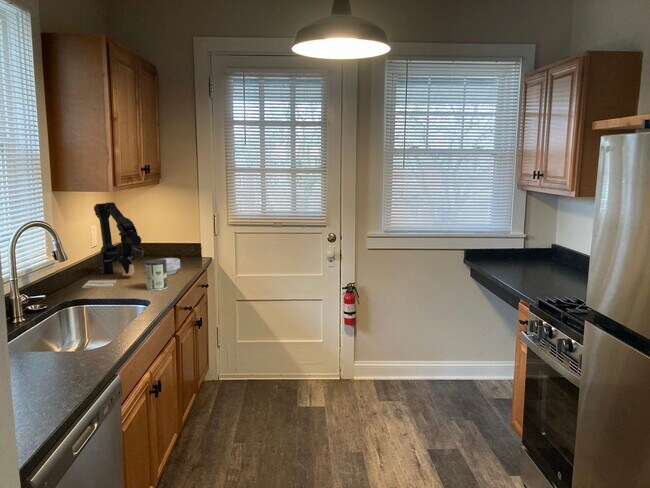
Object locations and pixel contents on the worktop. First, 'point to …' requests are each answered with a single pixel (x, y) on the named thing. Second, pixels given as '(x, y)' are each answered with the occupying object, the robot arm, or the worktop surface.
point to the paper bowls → (172, 265)
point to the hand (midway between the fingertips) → (128, 272)
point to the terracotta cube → (131, 270)
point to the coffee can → (156, 274)
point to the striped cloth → (99, 283)
